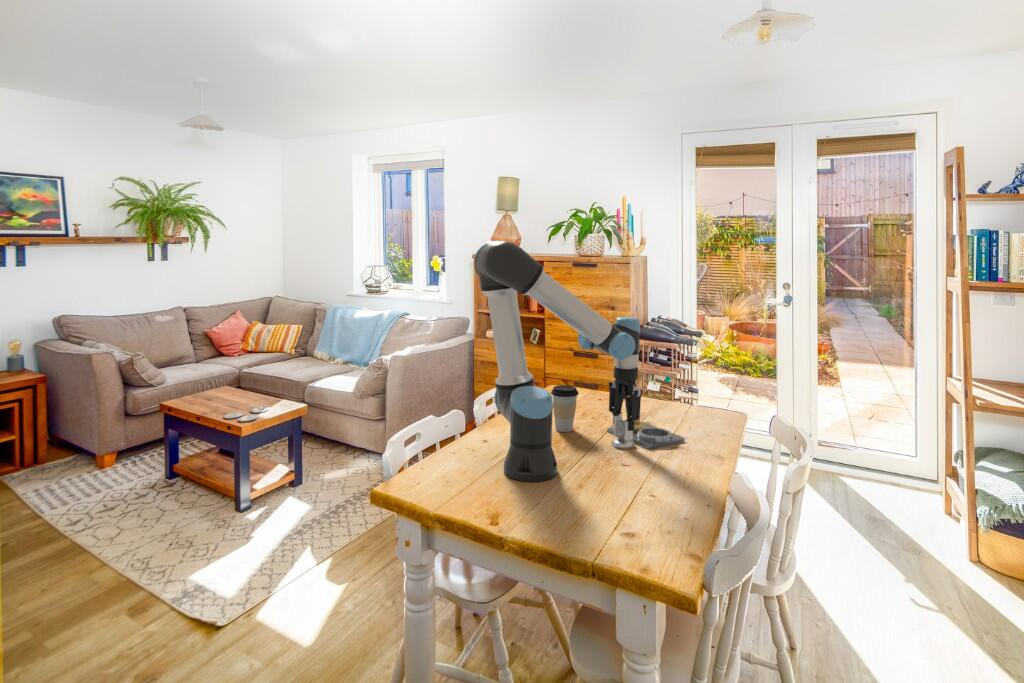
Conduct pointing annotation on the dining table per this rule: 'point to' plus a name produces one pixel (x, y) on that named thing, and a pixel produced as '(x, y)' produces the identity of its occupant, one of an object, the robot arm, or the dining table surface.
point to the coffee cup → (564, 406)
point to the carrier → (651, 435)
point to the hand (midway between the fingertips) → (622, 437)
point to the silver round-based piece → (622, 438)
